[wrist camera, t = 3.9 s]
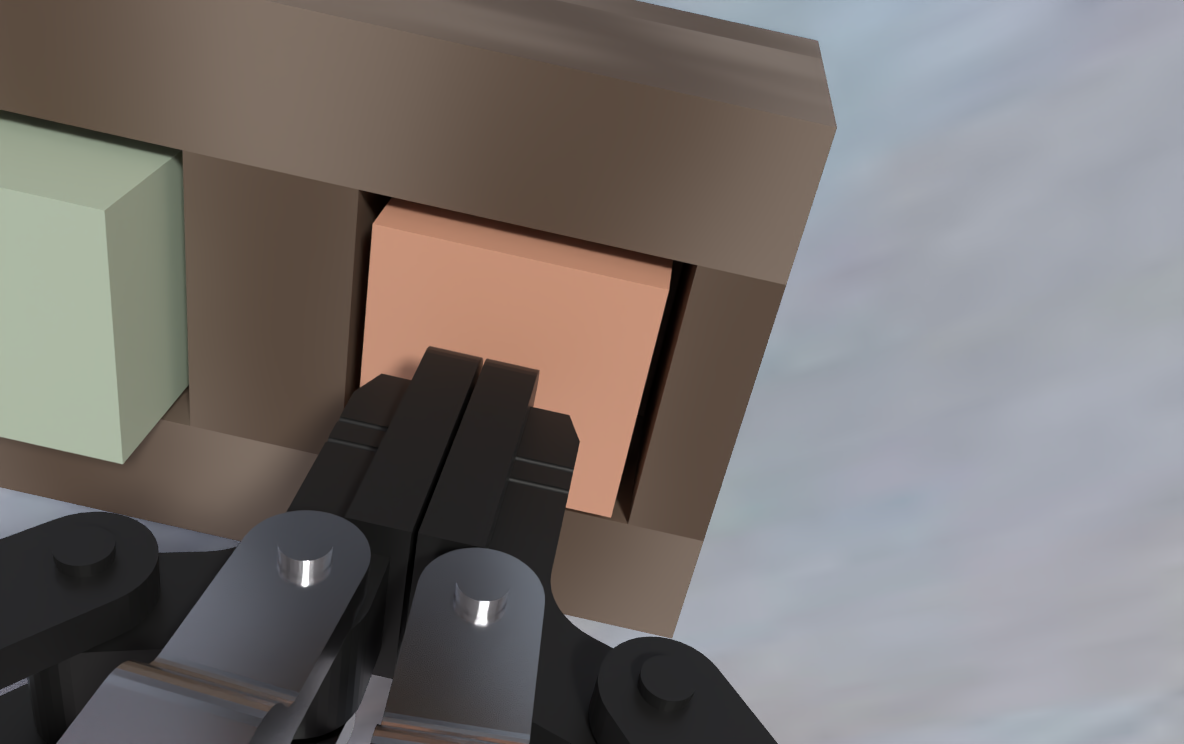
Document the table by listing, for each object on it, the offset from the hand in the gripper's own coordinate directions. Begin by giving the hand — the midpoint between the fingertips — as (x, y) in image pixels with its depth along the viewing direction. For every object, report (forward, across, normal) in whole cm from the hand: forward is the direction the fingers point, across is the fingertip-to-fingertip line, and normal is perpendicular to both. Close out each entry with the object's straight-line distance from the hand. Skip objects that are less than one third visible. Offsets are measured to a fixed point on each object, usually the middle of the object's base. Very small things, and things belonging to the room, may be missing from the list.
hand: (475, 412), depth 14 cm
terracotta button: (+4, 0, 0) cm, 4 cm away
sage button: (+3, +7, 0) cm, 7 cm away
